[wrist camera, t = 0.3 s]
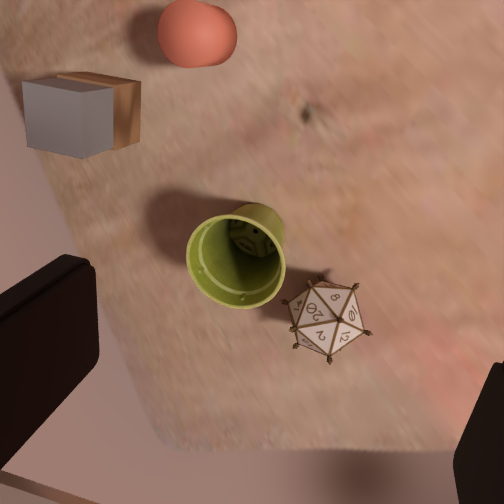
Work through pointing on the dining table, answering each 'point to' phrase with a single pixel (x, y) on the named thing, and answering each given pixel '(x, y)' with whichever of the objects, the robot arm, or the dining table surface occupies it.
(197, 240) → the plant pot
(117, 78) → the tower base
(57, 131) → the tower top
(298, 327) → the game die
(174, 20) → the cylinder
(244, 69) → the dining table surface
